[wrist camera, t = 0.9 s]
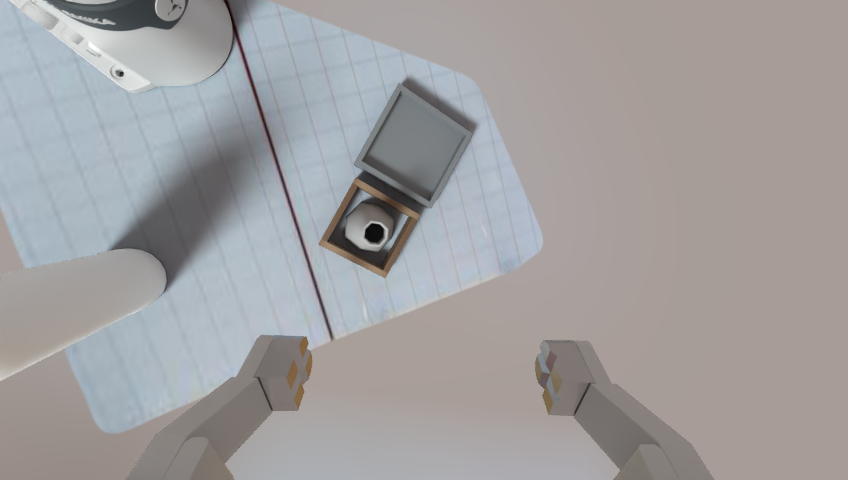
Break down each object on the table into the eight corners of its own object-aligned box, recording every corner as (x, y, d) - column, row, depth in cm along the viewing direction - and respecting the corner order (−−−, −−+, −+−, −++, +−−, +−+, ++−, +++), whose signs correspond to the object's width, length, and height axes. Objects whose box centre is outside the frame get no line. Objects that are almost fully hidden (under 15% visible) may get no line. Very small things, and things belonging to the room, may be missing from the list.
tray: (353, 164, 46) (354, 162, 44) (396, 89, 47) (399, 82, 44) (427, 208, 50) (431, 208, 47) (466, 137, 50) (472, 133, 47)
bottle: (104, 239, 40) (-506, 327, 11) (175, 257, 42) (-190, 371, 13) (86, 300, 41) (-557, 540, 12) (158, 315, 43) (-239, 551, 14)
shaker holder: (319, 241, 46) (318, 244, 43) (355, 179, 47) (355, 177, 44) (382, 273, 49) (385, 278, 46) (415, 214, 49) (420, 215, 46)
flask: (357, 194, 47) (360, 191, 37) (401, 216, 49) (415, 219, 39) (335, 239, 47) (332, 248, 37) (380, 260, 49) (389, 273, 39)
